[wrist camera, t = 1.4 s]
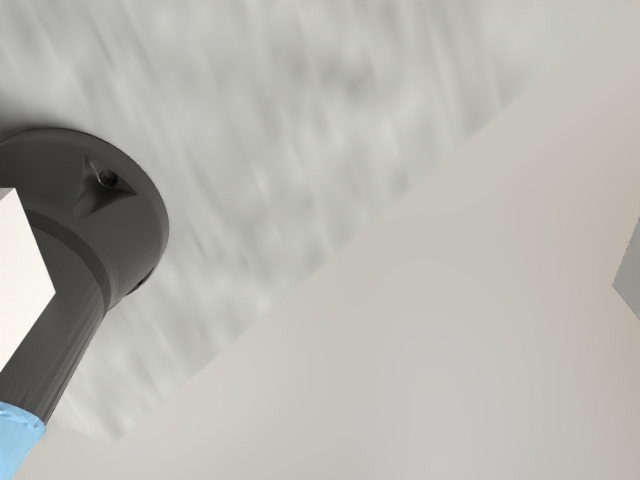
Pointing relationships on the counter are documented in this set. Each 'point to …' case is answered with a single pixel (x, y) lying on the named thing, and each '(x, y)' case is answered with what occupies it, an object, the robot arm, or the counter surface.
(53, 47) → the counter surface
